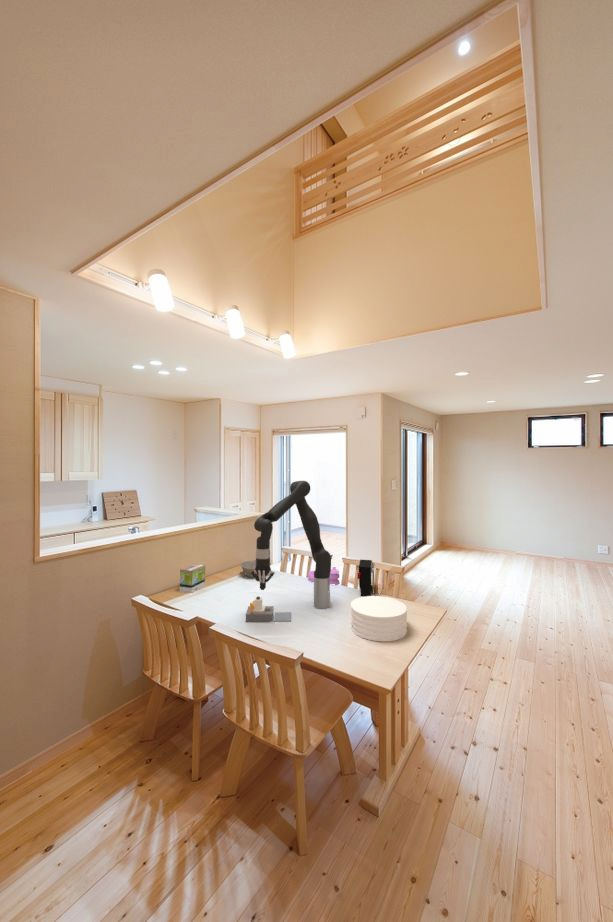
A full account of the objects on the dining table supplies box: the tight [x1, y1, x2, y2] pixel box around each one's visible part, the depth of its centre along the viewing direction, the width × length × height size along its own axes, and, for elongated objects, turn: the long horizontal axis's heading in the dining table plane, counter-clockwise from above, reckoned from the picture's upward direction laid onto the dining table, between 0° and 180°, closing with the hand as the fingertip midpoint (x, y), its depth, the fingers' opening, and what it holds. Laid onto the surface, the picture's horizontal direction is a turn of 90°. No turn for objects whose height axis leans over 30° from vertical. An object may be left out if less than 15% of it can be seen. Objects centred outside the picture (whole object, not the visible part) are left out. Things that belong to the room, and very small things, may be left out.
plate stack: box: [350, 595, 408, 643], centre depth 188 cm, size 28×28×12 cm
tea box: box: [179, 563, 206, 594], centre depth 246 cm, size 15×10×15 cm, turn 162°
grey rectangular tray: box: [245, 605, 275, 623], centre depth 200 cm, size 14×11×4 cm
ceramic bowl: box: [239, 559, 272, 579], centre depth 271 cm, size 22×23×10 cm
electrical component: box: [357, 559, 375, 597], centre depth 236 cm, size 18×10×20 cm, turn 168°
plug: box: [251, 595, 266, 613], centre depth 200 cm, size 7×7×11 cm
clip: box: [249, 600, 254, 612], centre depth 200 cm, size 2×12×5 cm, turn 1°
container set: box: [308, 566, 340, 586], centre depth 257 cm, size 25×15×13 cm, turn 45°
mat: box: [273, 611, 292, 623], centre depth 200 cm, size 9×11×1 cm
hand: (262, 589), depth 195 cm, fingers closed
